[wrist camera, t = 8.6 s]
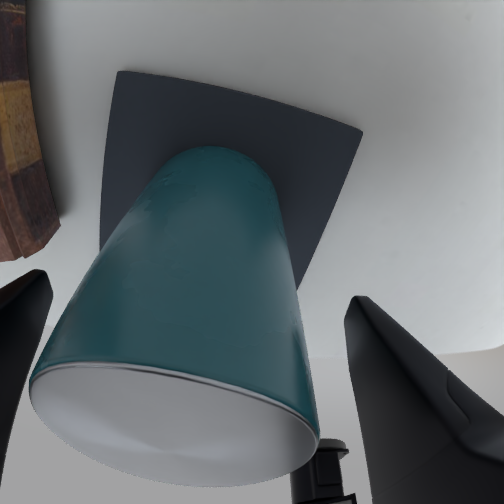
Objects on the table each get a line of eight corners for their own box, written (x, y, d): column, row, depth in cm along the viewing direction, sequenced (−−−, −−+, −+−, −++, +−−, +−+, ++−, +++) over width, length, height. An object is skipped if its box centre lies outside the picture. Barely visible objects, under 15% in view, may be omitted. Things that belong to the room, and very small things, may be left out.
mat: (284, 308, 17) (285, 316, 17) (103, 268, 16) (99, 274, 15) (359, 129, 12) (364, 132, 12) (122, 70, 10) (116, 71, 10)
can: (257, 275, 15) (265, 493, 7) (141, 249, 14) (61, 454, 6) (296, 165, 12) (385, 395, 4) (158, 132, 11) (-15, 313, 3)
